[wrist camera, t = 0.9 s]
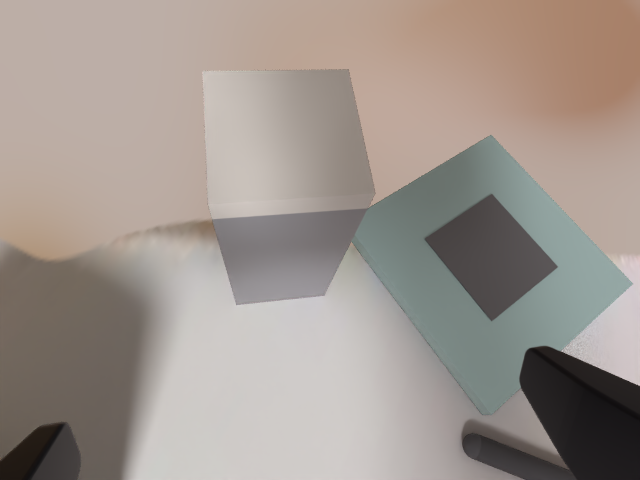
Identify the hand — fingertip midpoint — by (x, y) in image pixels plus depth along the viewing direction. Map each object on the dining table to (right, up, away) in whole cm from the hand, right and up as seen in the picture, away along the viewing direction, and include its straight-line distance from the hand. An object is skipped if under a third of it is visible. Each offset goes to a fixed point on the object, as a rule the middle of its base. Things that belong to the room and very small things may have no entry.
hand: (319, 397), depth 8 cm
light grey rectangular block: (-3, +2, +16) cm, 16 cm away
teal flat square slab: (+10, +2, +18) cm, 21 cm away
